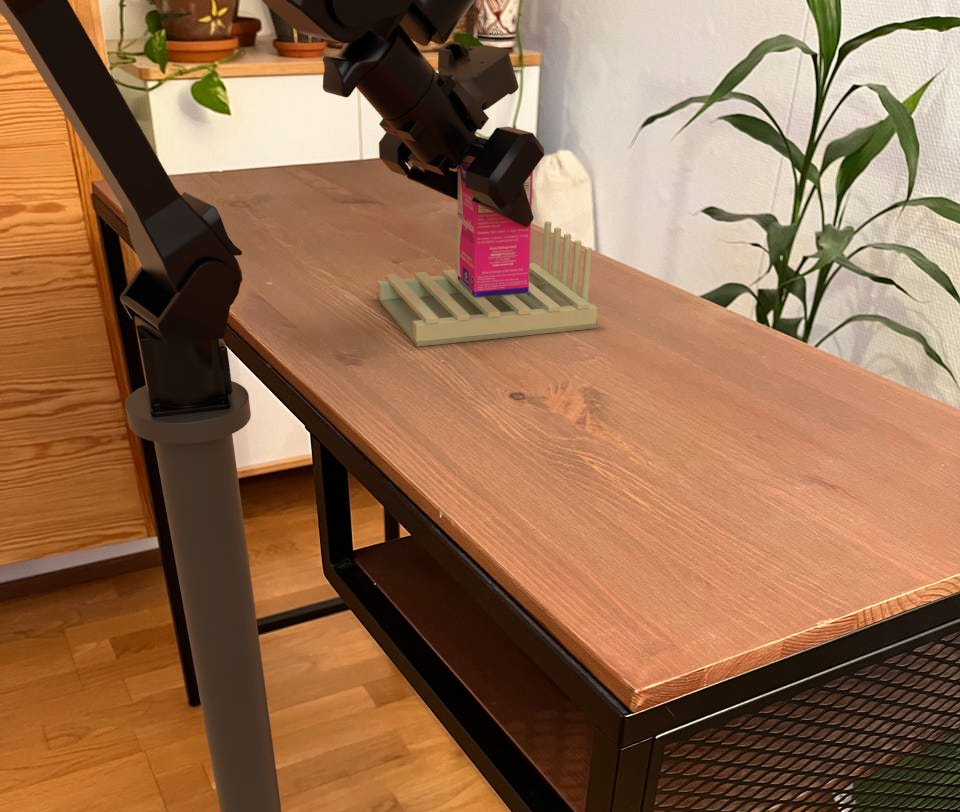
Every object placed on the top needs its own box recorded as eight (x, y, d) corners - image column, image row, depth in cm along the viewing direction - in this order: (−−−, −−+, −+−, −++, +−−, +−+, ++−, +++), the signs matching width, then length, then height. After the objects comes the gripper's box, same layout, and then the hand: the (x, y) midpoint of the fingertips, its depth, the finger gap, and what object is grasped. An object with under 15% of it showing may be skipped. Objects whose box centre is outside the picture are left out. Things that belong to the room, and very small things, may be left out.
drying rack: (416, 346, 94) (415, 268, 90) (377, 300, 105) (375, 228, 101) (596, 328, 99) (602, 253, 95) (541, 285, 110) (545, 216, 106)
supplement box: (454, 280, 102) (456, 155, 96) (511, 277, 104) (516, 153, 97) (471, 298, 98) (474, 167, 91) (530, 294, 99) (537, 165, 93)
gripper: (532, 19, 79) (624, 161, 91) (403, 1, 92) (499, 128, 103) (446, 140, 80) (549, 265, 92) (330, 106, 92) (434, 220, 104)
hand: (507, 214), depth 98 cm, fingers closed on supplement box, 7 cm apart
